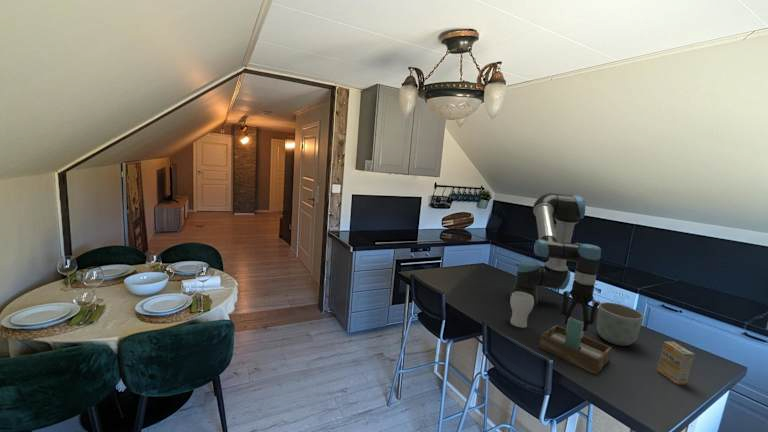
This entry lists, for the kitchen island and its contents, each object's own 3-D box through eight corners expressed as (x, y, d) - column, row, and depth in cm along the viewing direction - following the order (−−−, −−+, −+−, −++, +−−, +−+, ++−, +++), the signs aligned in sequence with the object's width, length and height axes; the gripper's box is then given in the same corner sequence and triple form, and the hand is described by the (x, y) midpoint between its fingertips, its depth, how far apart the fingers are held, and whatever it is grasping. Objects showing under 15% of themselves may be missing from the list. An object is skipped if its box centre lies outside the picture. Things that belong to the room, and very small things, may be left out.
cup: (532, 330, 155) (537, 301, 153) (509, 327, 157) (513, 297, 155) (527, 320, 166) (531, 292, 163) (505, 317, 168) (509, 289, 165)
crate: (554, 336, 151) (556, 324, 150) (609, 360, 135) (611, 347, 134) (538, 347, 141) (540, 334, 140) (596, 374, 125) (598, 360, 124)
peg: (568, 344, 141) (572, 318, 139) (579, 348, 138) (584, 322, 136) (563, 346, 138) (568, 320, 136) (575, 351, 135) (580, 324, 133)
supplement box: (655, 370, 130) (663, 340, 128) (666, 371, 131) (674, 341, 129) (675, 385, 122) (683, 353, 120) (687, 385, 123) (695, 353, 121)
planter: (628, 336, 158) (635, 306, 155) (643, 354, 142) (650, 322, 139) (588, 328, 163) (594, 299, 160) (598, 345, 147) (605, 313, 144)
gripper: (558, 276, 138) (549, 328, 141) (605, 291, 125) (594, 347, 128) (565, 274, 142) (556, 323, 146) (611, 287, 129) (600, 341, 133)
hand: (574, 334), depth 137 cm, fingers closed on peg, 4 cm apart
